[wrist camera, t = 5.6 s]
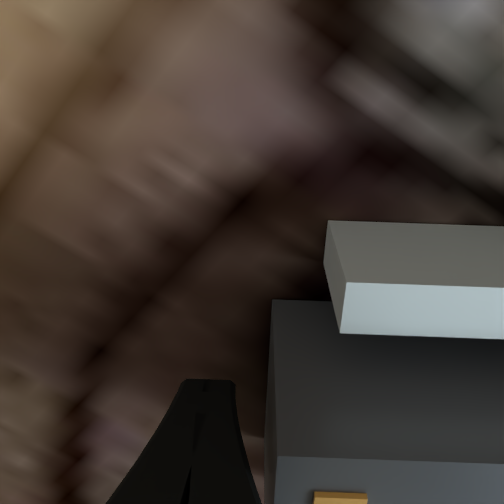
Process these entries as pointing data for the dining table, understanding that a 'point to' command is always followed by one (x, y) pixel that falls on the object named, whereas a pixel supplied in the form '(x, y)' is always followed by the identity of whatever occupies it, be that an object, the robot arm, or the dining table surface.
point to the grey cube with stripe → (380, 414)
